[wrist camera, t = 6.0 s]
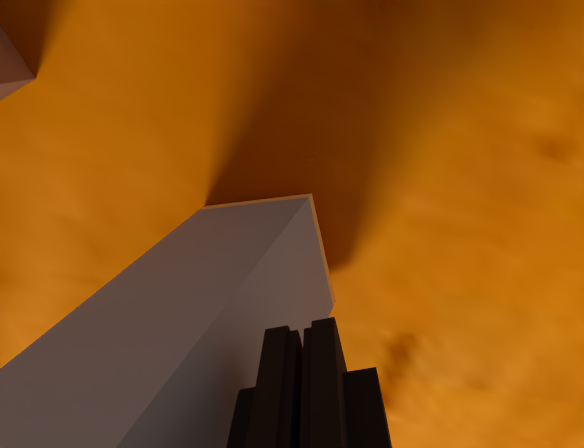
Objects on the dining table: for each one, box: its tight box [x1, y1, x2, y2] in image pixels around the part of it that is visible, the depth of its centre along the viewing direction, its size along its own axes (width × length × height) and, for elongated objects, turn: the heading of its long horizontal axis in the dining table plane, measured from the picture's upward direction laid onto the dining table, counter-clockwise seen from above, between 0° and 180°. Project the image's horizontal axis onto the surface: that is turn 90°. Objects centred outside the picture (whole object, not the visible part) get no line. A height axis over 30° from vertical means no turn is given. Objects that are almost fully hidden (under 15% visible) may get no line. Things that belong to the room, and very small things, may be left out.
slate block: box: [0, 193, 335, 448], centre depth 14 cm, size 4×4×13 cm
